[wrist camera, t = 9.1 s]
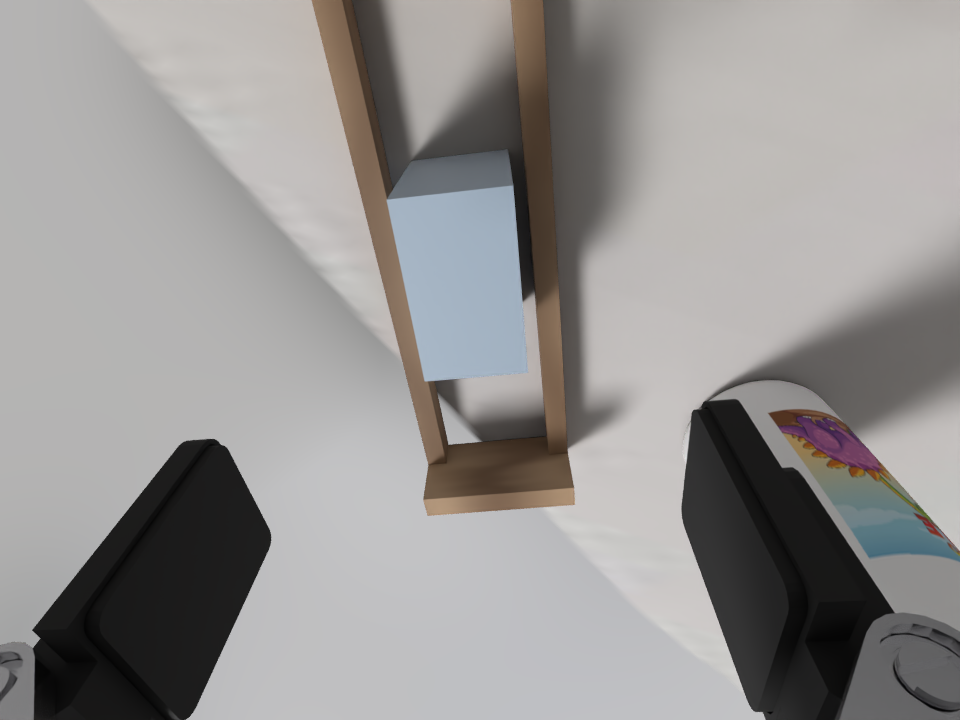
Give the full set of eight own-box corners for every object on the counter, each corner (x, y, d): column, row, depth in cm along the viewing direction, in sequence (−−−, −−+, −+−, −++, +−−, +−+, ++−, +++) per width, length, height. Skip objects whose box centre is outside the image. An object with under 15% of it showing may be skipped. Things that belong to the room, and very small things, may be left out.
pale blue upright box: (507, 149, 21) (513, 185, 16) (520, 303, 25) (528, 372, 20) (411, 160, 21) (386, 199, 16) (438, 311, 25) (424, 381, 20)
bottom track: (527, -202, 16) (537, -267, 12) (565, 450, 29) (574, 504, 26) (286, -155, 16) (232, -204, 13) (434, 461, 30) (427, 515, 27)
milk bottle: (715, 500, 31) (976, 1043, 14) (653, 422, 28) (894, 1000, 11) (845, 441, 29) (1350, 1022, 12) (792, 348, 26) (1378, 959, 9)
